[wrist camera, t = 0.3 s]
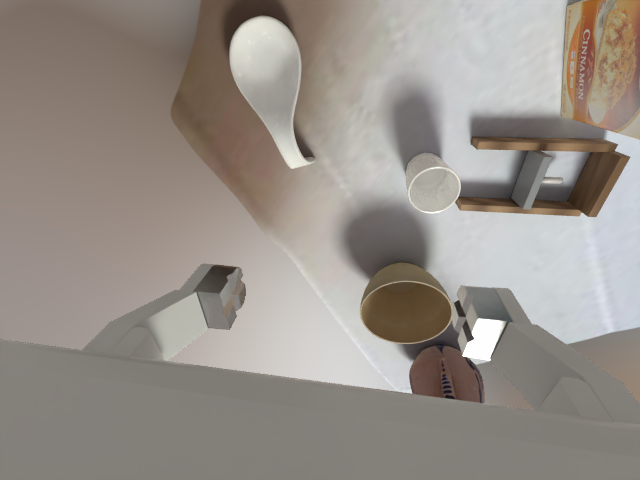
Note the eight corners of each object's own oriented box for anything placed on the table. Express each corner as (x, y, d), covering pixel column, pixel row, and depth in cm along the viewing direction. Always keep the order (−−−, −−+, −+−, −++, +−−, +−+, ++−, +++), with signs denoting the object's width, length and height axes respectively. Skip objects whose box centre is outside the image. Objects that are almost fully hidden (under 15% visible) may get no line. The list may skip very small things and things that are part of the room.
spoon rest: (225, 35, 47) (204, 32, 41) (290, 5, 43) (277, -4, 37) (280, 170, 58) (269, 183, 52) (335, 154, 54) (330, 166, 48)
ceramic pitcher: (418, 378, 87) (434, 479, 66) (392, 334, 78) (401, 434, 57) (479, 368, 80) (518, 477, 59) (459, 319, 72) (496, 426, 51)
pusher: (510, 197, 53) (522, 209, 49) (529, 148, 48) (544, 157, 44) (542, 198, 52) (557, 210, 48) (563, 149, 48) (582, 158, 43)
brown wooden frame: (455, 202, 56) (463, 216, 51) (472, 136, 49) (484, 145, 44) (571, 207, 53) (592, 223, 48) (606, 139, 46) (635, 148, 41)
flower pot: (346, 276, 70) (342, 313, 59) (402, 230, 61) (408, 264, 50) (397, 314, 74) (402, 355, 64) (457, 277, 65) (473, 317, 55)
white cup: (410, 196, 56) (417, 220, 48) (396, 160, 53) (400, 179, 45) (451, 179, 53) (466, 202, 45) (439, 141, 50) (452, 157, 42)
